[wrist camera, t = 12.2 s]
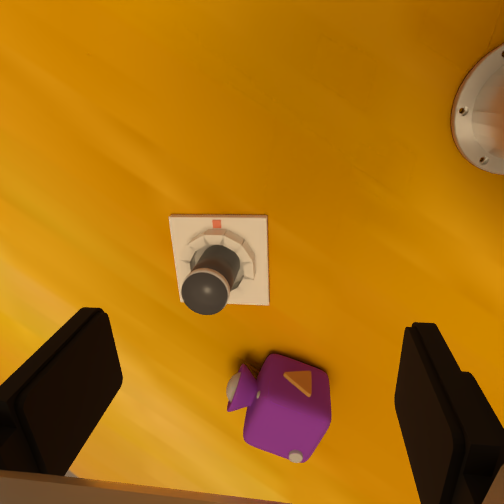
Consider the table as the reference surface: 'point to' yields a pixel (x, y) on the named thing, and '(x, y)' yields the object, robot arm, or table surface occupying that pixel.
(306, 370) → the toy camera
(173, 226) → the lens mount
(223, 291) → the lens
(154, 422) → the table surface
